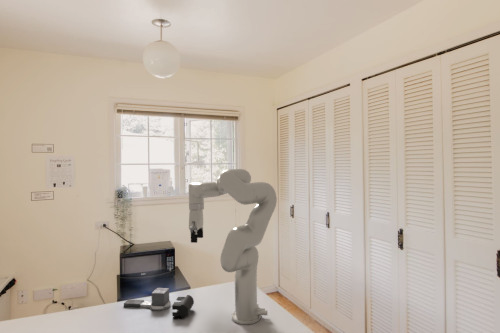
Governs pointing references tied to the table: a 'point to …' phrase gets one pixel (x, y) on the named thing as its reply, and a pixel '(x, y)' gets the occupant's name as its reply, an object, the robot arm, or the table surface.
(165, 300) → the matte grey cube
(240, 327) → the table surface
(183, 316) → the end cap
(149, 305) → the ratchet
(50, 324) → the table surface
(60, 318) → the table surface
